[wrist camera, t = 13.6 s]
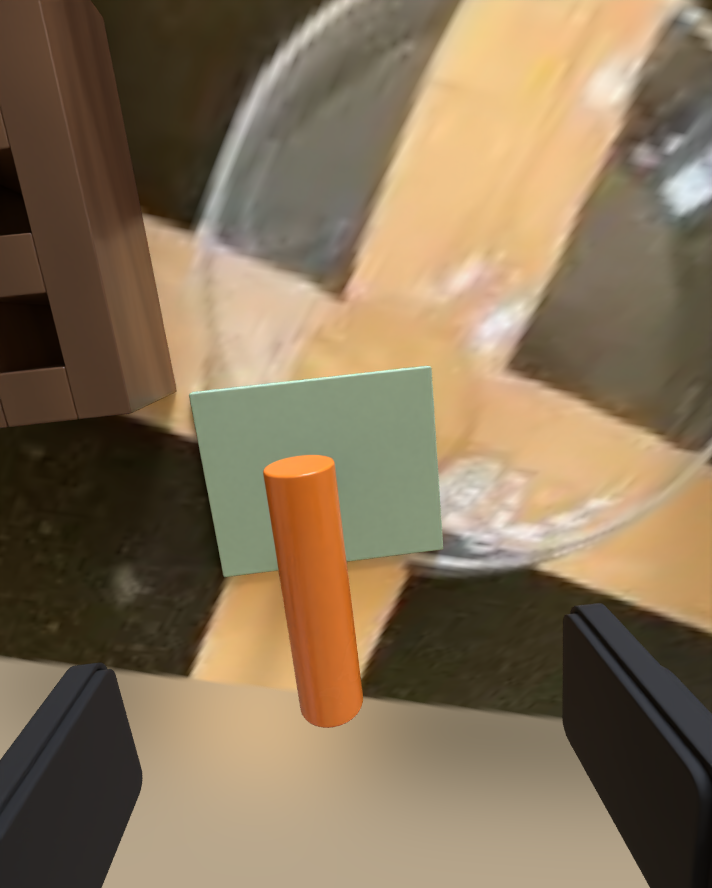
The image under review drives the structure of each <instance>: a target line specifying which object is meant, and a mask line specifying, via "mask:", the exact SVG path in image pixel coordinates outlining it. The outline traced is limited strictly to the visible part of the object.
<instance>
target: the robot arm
mask: <svg viewBox="0 0 712 888" xmlns="http://www.w3.org/2000/svg"><path fill="white" fill-rule="evenodd" d="M562 718H563V725H564V730H565V733H566V736H567V738H568V740H569V742H570V744H571V746H572V748H573V749H574V751H575V753H576V755H577V756H578V758H579V760H580V762H581V764H582V766H583V767H584V769H585V771H586V773H587V775H588V776H589V778H590V780H591V782H592V784H593V785H594V787H595V789H596V791H597V792H598V794H599V796H600V798H601V800H602V802H603V803H604V805H605V807H606V809H607V811H608V813H609V814H610V816H611V818H612V820H613V822H614V823H615V825H616V827H617V829H618V831H619V832H620V834H621V836H622V838H623V840H624V841H625V843H626V845H627V847H628V849H629V850H630V852H631V854H632V856H633V858H634V859H635V861H636V863H637V865H638V867H639V868H640V870H641V872H642V874H643V876H644V878H645V879H646V881H647V883H648V885H649V887H650V888H712V714H711V713H710V712H709V711H708V709H707V708H706V707H705V706H704V705H703V704H702V703H701V702H700V701H699V700H698V699H697V698H696V697H695V696H694V695H693V694H692V693H691V692H690V691H689V689H688V688H687V687H686V686H685V685H684V684H683V683H682V682H681V681H680V680H679V679H678V678H677V677H676V676H675V675H674V674H673V673H672V672H671V671H670V670H668V669H667V668H664V667H662V666H661V665H660V664H659V663H658V662H657V661H656V660H655V659H654V658H653V657H652V655H651V654H650V653H649V652H648V651H647V650H646V649H645V648H644V647H643V646H642V645H641V644H640V643H639V642H638V641H637V639H636V638H635V637H634V636H633V635H632V634H631V633H630V632H629V631H628V630H627V629H626V628H625V627H624V626H623V624H622V623H621V622H620V621H619V620H618V619H617V618H616V617H615V616H614V615H613V614H612V613H611V612H610V611H609V610H608V608H607V607H606V606H604V605H603V604H600V603H598V604H589V605H581V606H574V607H572V609H571V613H570V614H568V615H565V616H564V619H563V715H562ZM141 786H142V770H141V766H140V762H139V758H138V755H137V751H136V747H135V744H134V740H133V737H132V733H131V729H130V726H129V722H128V719H127V715H126V711H125V708H124V704H123V700H122V697H121V693H120V689H119V686H118V682H117V678H116V675H115V672H114V671H113V670H112V669H107V667H106V666H105V665H104V664H103V663H93V664H85V665H77V666H72V667H70V668H69V669H68V670H67V671H66V673H65V674H64V676H63V677H62V678H61V679H60V681H59V682H58V683H57V685H56V686H55V687H54V689H53V690H52V691H51V693H50V694H49V695H48V697H47V698H46V699H45V701H44V702H43V704H42V705H41V706H40V707H39V709H38V710H37V711H36V713H35V714H34V716H33V717H32V718H31V720H30V721H29V722H28V724H27V725H26V726H25V728H24V729H23V730H22V732H21V733H20V735H19V736H18V737H17V738H16V740H15V741H14V743H13V744H12V745H11V747H10V748H9V749H8V750H7V752H6V753H5V754H4V756H3V757H2V758H1V760H0V888H101V887H102V885H103V883H104V880H105V878H106V875H107V873H108V870H109V868H110V865H111V863H112V860H113V858H114V856H115V853H116V851H117V848H118V846H119V843H120V841H121V838H122V836H123V833H124V831H125V828H126V826H127V823H128V821H129V818H130V816H131V813H132V811H133V809H134V806H135V804H136V801H137V798H138V796H139V793H140V790H141Z"/></svg>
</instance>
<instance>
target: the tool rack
mask: <svg viewBox="0 0 712 888" xmlns="http://www.w3.org/2000/svg"><path fill="white" fill-rule="evenodd" d="M175 392H176V386H175V381H174V375H173V370H172V365H171V360H170V355H169V350H168V345H167V340H166V335H165V330H164V325H163V319H162V314H161V309H160V304H159V299H158V294H157V289H156V284H155V279H154V274H153V269H152V264H151V258H150V253H149V248H148V243H147V238H146V233H145V228H144V223H143V218H142V213H141V208H140V202H139V197H138V192H137V187H136V182H135V177H134V172H133V167H132V162H131V157H130V152H129V147H128V141H127V136H126V131H125V126H124V121H123V116H122V111H121V106H120V101H119V96H118V91H117V85H116V80H115V75H114V70H113V65H112V60H111V55H110V50H109V45H108V40H107V35H106V30H105V24H104V19H103V17H102V16H101V14H100V13H99V11H98V10H97V9H96V7H95V6H94V4H93V3H92V2H91V0H0V428H5V427H9V426H10V427H14V426H23V425H32V424H41V423H50V422H58V421H67V420H76V419H86V418H94V417H103V416H112V415H121V414H130V413H132V412H134V411H137V410H139V409H141V408H143V407H145V406H147V405H149V404H151V403H153V402H156V401H158V400H160V399H162V398H164V397H166V396H168V395H170V394H172V393H175Z"/></svg>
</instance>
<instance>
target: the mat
mask: <svg viewBox="0 0 712 888" xmlns="http://www.w3.org/2000/svg"><path fill="white" fill-rule="evenodd" d="M189 397H190V402H191V408H192V413H193V418H194V423H195V429H196V434H197V439H198V444H199V450H200V455H201V460H202V465H203V471H204V476H205V481H206V486H207V492H208V497H209V502H210V507H211V513H212V518H213V523H214V528H215V534H216V539H217V544H218V549H219V555H220V560H221V565H222V570H223V576H224V577H230V576H238V575H246V574H253V573H261V572H269V571H277V570H278V564H277V558H276V551H275V545H274V539H273V532H272V526H271V520H270V513H269V507H268V501H267V495H266V488H265V482H264V476H263V471H264V468H265V467H266V466H268V465H269V464H271V463H273V462H276V461H278V460H281V459H285V458H289V457H295V456H302V455H322V456H327V457H330V458H332V459H333V460H334V462H335V469H336V478H337V486H338V494H339V503H340V511H341V519H342V528H343V536H344V544H345V553H346V561H355V560H363V559H371V558H379V557H387V556H394V555H402V554H410V553H418V552H426V551H434V550H442V549H443V539H442V523H441V508H440V493H439V478H438V462H437V447H436V432H435V417H434V401H433V386H432V371H431V367H430V366H422V367H413V368H404V369H395V370H386V371H377V372H368V373H359V374H350V375H342V376H333V377H324V378H315V379H306V380H297V381H288V382H279V383H270V384H261V385H253V386H244V387H235V388H226V389H217V390H208V391H199V392H192V393H190V394H189Z"/></svg>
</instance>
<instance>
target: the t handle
mask: <svg viewBox="0 0 712 888" xmlns="http://www.w3.org/2000/svg"><path fill="white" fill-rule="evenodd" d="M263 476H264V482H265V488H266V495H267V501H268V507H269V513H270V520H271V526H272V532H273V539H274V545H275V551H276V558H277V564H278V570H279V576H280V583H281V589H282V595H283V602H284V608H285V614H286V620H287V627H288V633H289V639H290V646H291V652H292V658H293V664H294V671H295V677H296V683H297V690H298V696H299V702H300V708H301V712H302V715H303V716H304V718H305V719H306V720H307V721H308V722H310V723H311V724H313V725H315V726H318V727H324V728H329V727H336V726H340V725H342V724H345V723H346V722H348V721H350V720H351V719H353V718H354V717H355V716H356V715H357V713H358V712H359V710H360V708H361V706H362V703H363V694H362V686H361V677H360V669H359V661H358V653H357V644H356V636H355V628H354V619H353V611H352V603H351V594H350V586H349V578H348V569H347V561H346V553H345V544H344V536H343V528H342V519H341V511H340V503H339V494H338V486H337V478H336V469H335V462H334V460H333V459H332V458H330V457H327V456H322V455H302V456H295V457H289V458H285V459H281V460H278V461H276V462H273V463H271V464H269V465H268V466H266V467H265V468H264V471H263Z"/></svg>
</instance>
